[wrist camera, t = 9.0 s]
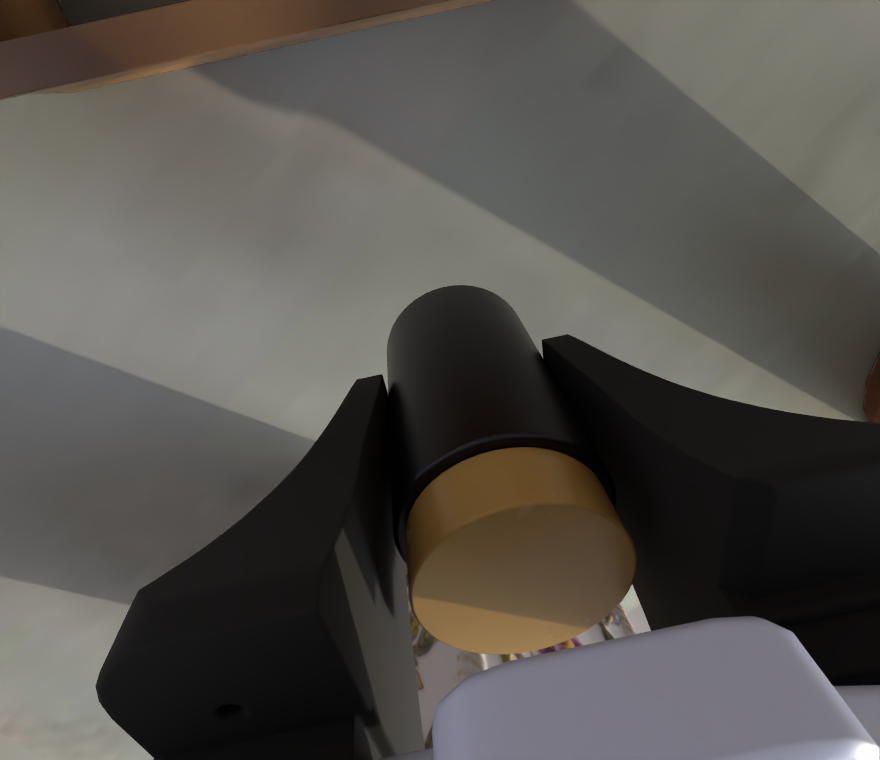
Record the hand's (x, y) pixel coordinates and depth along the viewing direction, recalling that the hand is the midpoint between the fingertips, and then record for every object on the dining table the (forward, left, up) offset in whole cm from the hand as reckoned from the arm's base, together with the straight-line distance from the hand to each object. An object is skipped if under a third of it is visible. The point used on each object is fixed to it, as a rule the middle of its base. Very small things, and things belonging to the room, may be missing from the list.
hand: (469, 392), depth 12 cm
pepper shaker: (0, 0, -2) cm, 2 cm away
